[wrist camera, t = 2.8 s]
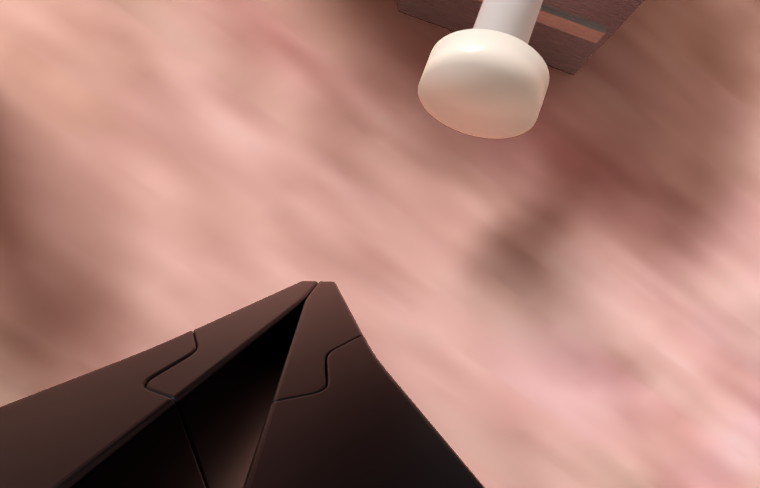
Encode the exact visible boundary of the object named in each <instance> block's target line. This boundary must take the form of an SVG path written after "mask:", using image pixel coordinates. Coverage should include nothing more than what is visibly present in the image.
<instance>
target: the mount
mask: <svg viewBox="0 0 760 488" xmlns="http://www.w3.org/2000/svg"><path fill="white" fill-rule="evenodd" d="M643 1H644V0H543V2H542V5H541V8H540V11H539V14H538V17H537V20H536V22H535V25H534V28H533V31H532V34H531V37H530V40H529V43H528V45H530V46H531V47H532V48H533V49H535V50H536V51H537V52H538V53H539V55H540V56H541V57H542V58H543V60H544V61H545V63H546V65H549V66H551V67H554V68H557V69H560V70H562V71H565V72H568V73H571V74H573V75H574V73H575V72H576V71H577V70H578V69H579V68H580V67H581V66H582V65H583V64H584V63H585V62H586V61H587V60H588V59H589V58H590V57H591V56H592V55H593V54H594V53H595V51H596V50H597V49H598V48H599V47H600V46H601V45H602V44H603V43H604V42H605V41H606V40H607V39H608V38H609V37H610V36H611V35H612V34H613V33H614V32H615V31H616V29H617V28H618V27H619V26H620V25H621V24H622V23H623V22H624V21H625V20H626V19H627V18H628V17H629V16H630V15H631V14H632V13H633V12H634V11H635V10H636V9H637V7H638V6H639V5H640V4H641V3H642V2H643ZM482 3H483V0H399V3H398V11H400V12H403V13H406V14H408V15H411V16H414V17H417V18H419V19H422V20H425V21H428V22H430V23H433V24H436V25H439V26H441V27H444V28H447V29H450V30H452V31H455V32H456V31H461V30H466V29H473V27H474V24H475V21H476V19H477V16H478V13H479V11H480V8H481V5H482Z"/></svg>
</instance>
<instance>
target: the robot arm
mask: <svg viewBox="0 0 760 488" xmlns="http://www.w3.org/2000/svg"><path fill="white" fill-rule="evenodd" d="M0 488H485V487H484V486H483V485H482V484H481V483H480V481H479V480H478V479H477V478H476V477H475V475H474V474H473V473H472V472H471V471H470V470H469V468H468V467H467V466H466V465H465V464H464V462H463V461H462V460H461V459H460V458H459V456H458V455H457V454H456V453H455V452H454V450H453V449H452V448H451V447H450V446H449V445H448V443H447V442H446V441H445V440H444V439H443V437H442V436H441V435H440V434H439V433H438V431H437V430H436V429H435V428H434V427H433V425H432V424H431V423H430V422H429V421H428V419H427V418H426V417H425V416H424V415H423V414H422V412H421V411H420V410H419V409H418V408H417V406H416V405H415V404H414V403H413V402H412V400H411V399H410V398H409V397H408V396H407V394H406V393H405V392H404V391H403V390H402V389H401V387H400V386H399V385H398V384H397V383H396V381H395V380H394V379H393V378H392V377H391V375H390V374H389V373H388V372H387V371H386V369H385V368H384V367H383V365H382V364H381V363H380V362H379V360H378V359H377V358H376V356H375V354H374V353H373V351H372V350H371V348H370V346H369V345H368V343H367V341H366V339H365V337H364V336H363V334H362V332H361V331H360V329H359V327H358V325H357V323H356V321H355V319H354V317H353V315H352V314H351V312H350V310H349V308H348V306H347V304H346V302H345V300H344V299H343V297H342V295H341V293H340V291H339V289H338V287H337V285H336V284H335V283H334V282H319V283H317V282H316V281H302V282H299V283H297V284H295V285H293V286H291V287H288V288H286V289H284V290H282V291H279V292H277V293H275V294H273V295H271V296H268V297H266V298H264V299H262V300H260V301H257V302H255V303H253V304H251V305H249V306H246V307H244V308H242V309H240V310H238V311H235V312H233V313H231V314H229V315H226V316H224V317H222V318H220V319H218V320H215V321H213V322H211V323H209V324H207V325H204V326H202V327H200V328H198V329H196V330H194V331H193V332H192V331H190V332H187V333H185V334H183V335H181V336H179V337H176V338H174V339H172V340H169V341H167V342H165V343H162V344H160V345H158V346H156V347H153V348H151V349H148V350H146V351H143V352H141V353H138V354H136V355H133V356H131V357H128V358H126V359H123V360H121V361H118V362H116V363H113V364H111V365H108V366H106V367H103V368H100V369H98V370H95V371H93V372H90V373H88V374H85V375H82V376H80V377H77V378H75V379H72V380H69V381H67V382H64V383H62V384H59V385H57V386H54V387H51V388H49V389H46V390H44V391H41V392H38V393H36V394H33V395H31V396H28V397H26V398H23V399H20V400H18V401H15V402H13V403H10V404H7V405H5V406H2V407H0Z"/></svg>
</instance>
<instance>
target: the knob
mask: <svg viewBox="0 0 760 488" xmlns="http://www.w3.org/2000/svg"><path fill="white" fill-rule="evenodd" d="M542 2H543V0H483V3H482V5H481V8H480V11H479V13H478V16H477V19H476V21H475V24H474V27H473V29H466V30H461V31H456V32H454V33H451V34H449V35H447V36H445V37H443V38H442V39H441V40H439V41H438V42H437V43H436V44H435V46H434V47H433V49H432V51H431V53H430V56H429V59H428V61H427V64H426V66H425V69H424V72H423V74H422V77H421V80H420V82H419V85H418V96H419V100H420V102H421V104H422V105H423V107H424V108H425V109H426V110H427V112H428V113H429V114H430V115H432V116H433V117H434V118H435V119H436V120H438V121H439V122H441V123H442V124H444V125H446V126H448V127H450V128H452V129H454V130H456V131H459V132H461V133H464V134H468V135H471V136H476V137H481V138H491V139H502V138H510V137H515V136H518V135H521V134H523V133H525V132H527V131H528V130H530V129H531V128H532V127H533V126H534V124H535V123H536V121H537V118H538V115H539V112H540V109H541V106H542V103H543V100H544V97H545V94H546V91H547V88H548V85H549V78H550V75H549V70H548V67H547V65H546V63H545V61H544V60H543V58H542V57H541V56H540V55H539V53H538V52H537V51H536V50H535V49H533V48H532V47H531V46H530V45H528V43H529V40H530V37H531V34H532V31H533V28H534V25H535V22H536V20H537V17H538V14H539V11H540V8H541V5H542Z"/></svg>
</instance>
